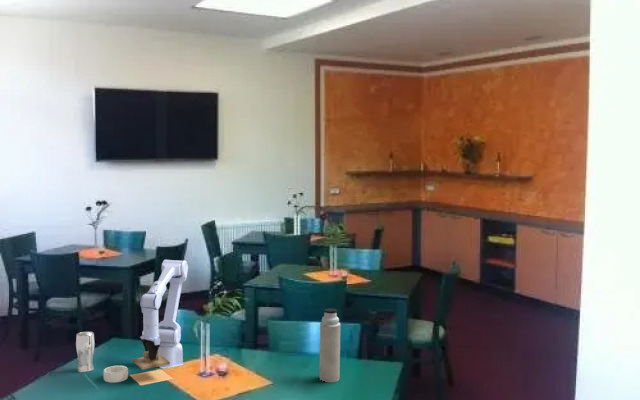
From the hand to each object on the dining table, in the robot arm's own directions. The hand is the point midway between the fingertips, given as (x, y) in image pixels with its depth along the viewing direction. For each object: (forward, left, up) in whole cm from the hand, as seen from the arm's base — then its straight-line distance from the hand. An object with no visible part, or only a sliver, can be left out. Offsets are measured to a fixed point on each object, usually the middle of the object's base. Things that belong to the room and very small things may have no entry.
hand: (151, 358), depth 255 cm
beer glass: (+19, -23, -8) cm, 31 cm away
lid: (0, 0, -2) cm, 2 cm away
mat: (0, 0, -8) cm, 8 cm away
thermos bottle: (-59, +38, -8) cm, 71 cm away
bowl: (+12, -6, -8) cm, 16 cm away
